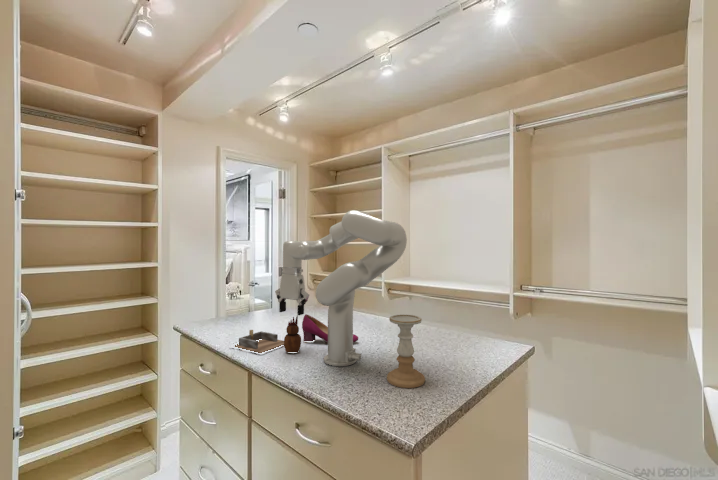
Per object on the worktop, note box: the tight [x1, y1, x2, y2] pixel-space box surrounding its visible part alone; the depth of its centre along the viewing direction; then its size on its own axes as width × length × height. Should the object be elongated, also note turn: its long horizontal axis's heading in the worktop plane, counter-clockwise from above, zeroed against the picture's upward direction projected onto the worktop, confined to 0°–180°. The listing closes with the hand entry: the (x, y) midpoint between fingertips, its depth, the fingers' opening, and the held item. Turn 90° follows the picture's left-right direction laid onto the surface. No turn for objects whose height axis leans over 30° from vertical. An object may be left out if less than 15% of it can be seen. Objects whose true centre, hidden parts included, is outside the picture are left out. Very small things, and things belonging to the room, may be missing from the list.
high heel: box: [301, 313, 359, 344], centre depth 145 cm, size 9×26×12 cm, turn 87°
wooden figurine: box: [283, 314, 302, 353], centre depth 132 cm, size 7×6×15 cm
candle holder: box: [386, 314, 426, 389], centre depth 105 cm, size 12×12×20 cm
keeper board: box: [235, 329, 284, 353], centre depth 140 cm, size 19×16×6 cm
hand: (291, 313), depth 132 cm, fingers open, 9 cm apart
